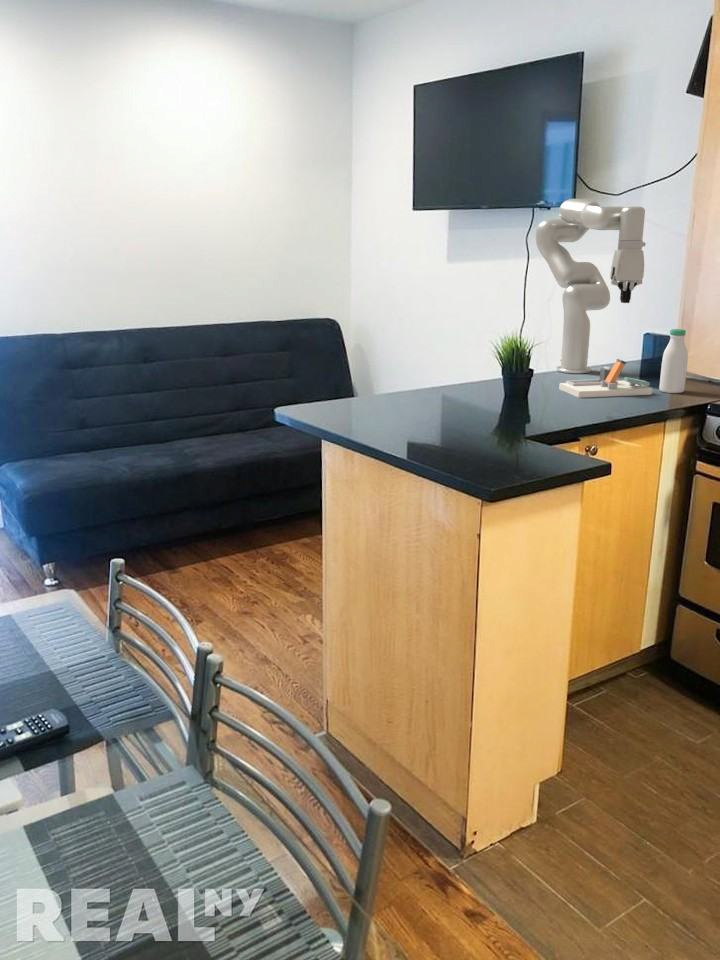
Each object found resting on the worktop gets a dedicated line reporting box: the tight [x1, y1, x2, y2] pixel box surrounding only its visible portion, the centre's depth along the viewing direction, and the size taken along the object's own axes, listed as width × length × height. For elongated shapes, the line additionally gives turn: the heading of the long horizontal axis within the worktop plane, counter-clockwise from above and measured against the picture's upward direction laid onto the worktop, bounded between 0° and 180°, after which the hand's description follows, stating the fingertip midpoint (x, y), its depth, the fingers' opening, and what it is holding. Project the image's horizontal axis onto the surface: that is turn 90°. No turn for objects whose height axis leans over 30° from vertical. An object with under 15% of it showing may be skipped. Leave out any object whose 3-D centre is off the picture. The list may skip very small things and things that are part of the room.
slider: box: [599, 366, 612, 382], centre depth 269 cm, size 3×3×5 cm
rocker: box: [623, 376, 651, 387], centre depth 262 cm, size 6×7×1 cm
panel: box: [558, 378, 653, 399], centre depth 265 cm, size 15×25×4 cm, turn 100°
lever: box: [605, 358, 627, 384], centre depth 261 cm, size 4×2×8 cm, turn 10°
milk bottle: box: [658, 328, 689, 394], centre depth 263 cm, size 8×8×20 cm
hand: (625, 302), depth 274 cm, fingers closed
